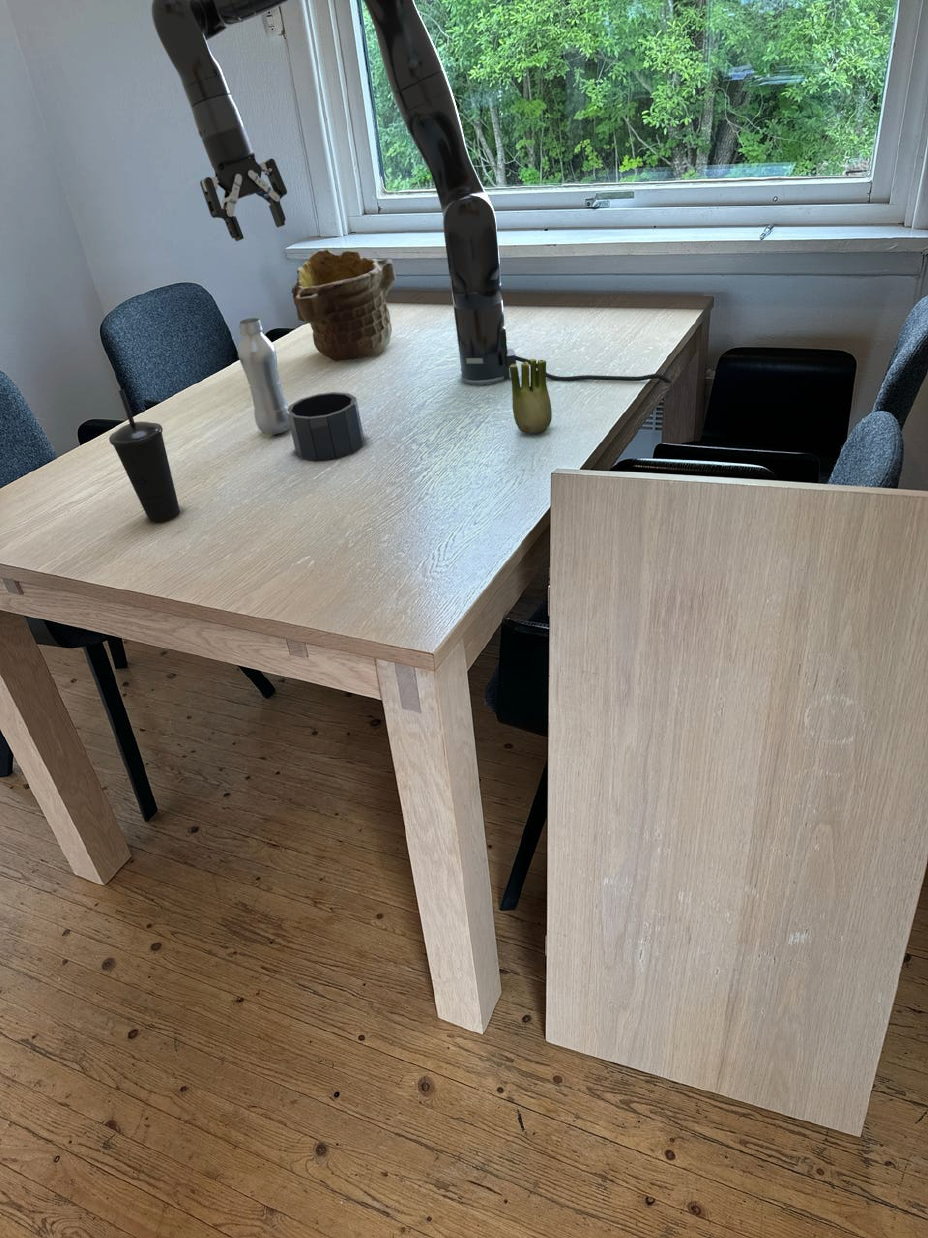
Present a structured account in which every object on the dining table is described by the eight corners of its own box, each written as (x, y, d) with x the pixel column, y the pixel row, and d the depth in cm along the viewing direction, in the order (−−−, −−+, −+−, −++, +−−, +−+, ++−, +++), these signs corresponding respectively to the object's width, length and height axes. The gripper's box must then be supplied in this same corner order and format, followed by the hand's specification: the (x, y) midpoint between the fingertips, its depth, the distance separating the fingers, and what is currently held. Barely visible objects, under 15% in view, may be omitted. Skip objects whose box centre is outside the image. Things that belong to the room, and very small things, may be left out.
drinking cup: (145, 507, 138) (101, 385, 127) (192, 501, 138) (153, 378, 127) (134, 530, 132) (87, 403, 121) (184, 523, 132) (141, 395, 121)
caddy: (366, 429, 155) (358, 388, 151) (360, 456, 146) (352, 413, 141) (302, 437, 156) (292, 396, 152) (292, 464, 146) (282, 421, 142)
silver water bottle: (287, 438, 156) (260, 325, 145) (253, 439, 158) (223, 327, 147) (300, 424, 161) (274, 314, 150) (266, 425, 163) (238, 316, 152)
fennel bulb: (513, 436, 145) (506, 365, 138) (522, 424, 148) (516, 355, 142) (546, 437, 143) (541, 365, 136) (555, 426, 146) (550, 355, 140)
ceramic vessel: (400, 329, 175) (309, 231, 169) (332, 402, 190) (245, 314, 183) (437, 296, 192) (355, 205, 186) (371, 365, 207) (294, 283, 201)
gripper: (193, 136, 139) (235, 241, 146) (268, 116, 146) (304, 218, 153) (176, 146, 145) (217, 247, 152) (249, 126, 151) (284, 224, 159)
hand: (260, 232), depth 152 cm, fingers open, 8 cm apart
